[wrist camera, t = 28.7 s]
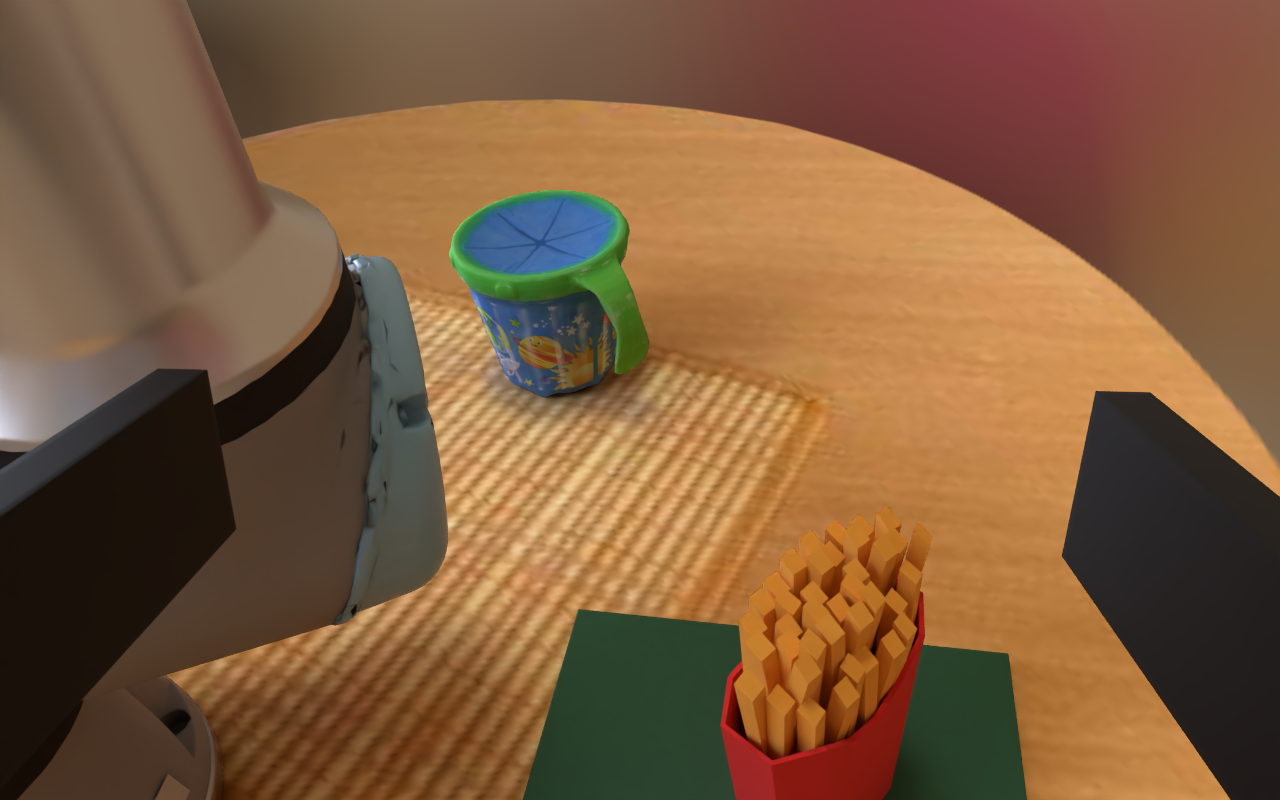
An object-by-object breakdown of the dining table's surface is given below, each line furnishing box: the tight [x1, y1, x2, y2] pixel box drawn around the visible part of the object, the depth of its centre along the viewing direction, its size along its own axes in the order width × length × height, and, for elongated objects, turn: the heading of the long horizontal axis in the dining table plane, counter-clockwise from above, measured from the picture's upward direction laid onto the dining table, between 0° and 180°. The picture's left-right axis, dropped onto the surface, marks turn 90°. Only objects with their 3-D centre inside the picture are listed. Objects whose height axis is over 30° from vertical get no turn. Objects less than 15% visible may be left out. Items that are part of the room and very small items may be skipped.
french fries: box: [721, 507, 932, 800], centre depth 33 cm, size 9×4×13 cm, turn 136°
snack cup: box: [449, 190, 649, 397], centre depth 58 cm, size 16×10×10 cm
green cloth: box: [523, 609, 1027, 800], centre depth 38 cm, size 20×15×1 cm
